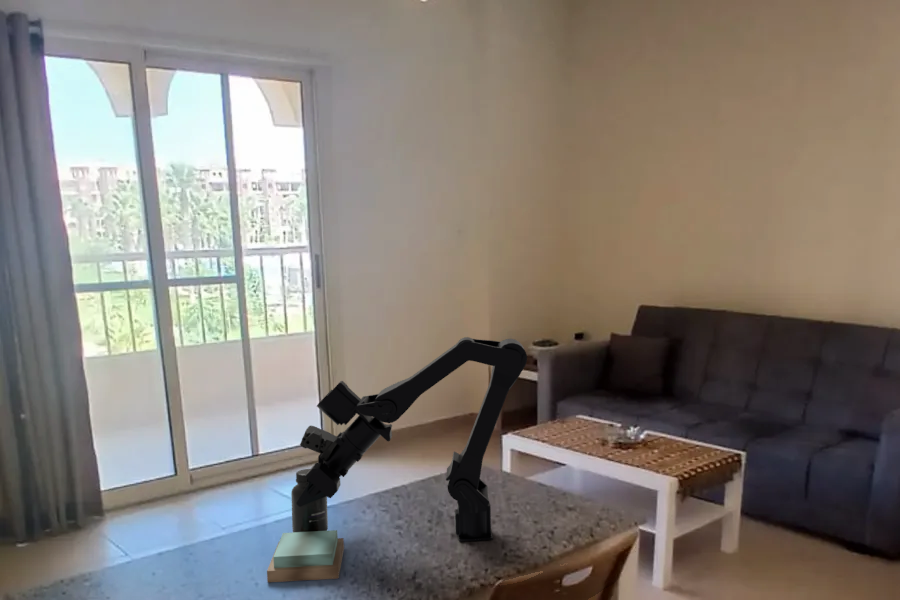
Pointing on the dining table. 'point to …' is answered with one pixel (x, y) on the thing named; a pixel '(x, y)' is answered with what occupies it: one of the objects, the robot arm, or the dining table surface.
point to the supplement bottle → (307, 508)
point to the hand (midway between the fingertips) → (302, 498)
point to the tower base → (307, 570)
